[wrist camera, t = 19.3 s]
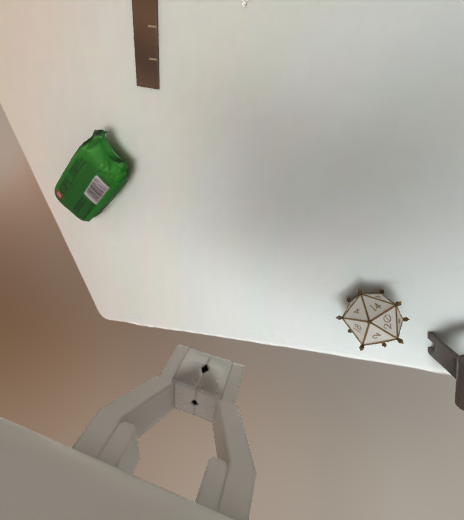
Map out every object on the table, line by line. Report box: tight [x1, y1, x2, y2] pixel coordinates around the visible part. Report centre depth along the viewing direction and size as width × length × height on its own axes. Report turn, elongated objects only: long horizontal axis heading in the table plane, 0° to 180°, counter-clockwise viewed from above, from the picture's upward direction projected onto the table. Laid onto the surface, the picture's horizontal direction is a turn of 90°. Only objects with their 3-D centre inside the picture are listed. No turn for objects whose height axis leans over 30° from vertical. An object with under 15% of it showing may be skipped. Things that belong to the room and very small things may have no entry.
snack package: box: [55, 130, 129, 221], centre depth 40 cm, size 7×16×5 cm, turn 131°
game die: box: [336, 289, 409, 351], centre depth 37 cm, size 9×8×10 cm
